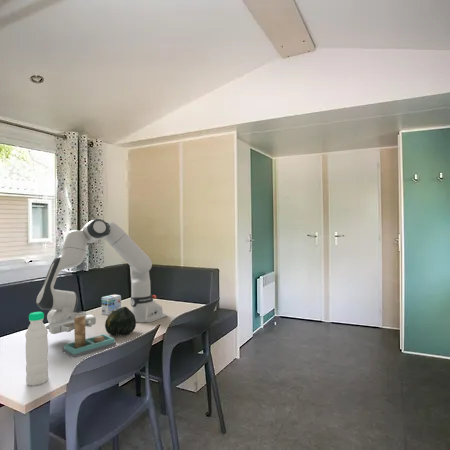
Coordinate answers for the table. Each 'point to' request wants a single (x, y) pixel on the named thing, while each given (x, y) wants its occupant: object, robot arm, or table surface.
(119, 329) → the squash
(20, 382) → the table surface
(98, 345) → the housing plate
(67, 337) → the table surface
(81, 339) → the oak post
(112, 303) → the light bulb box
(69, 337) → the table surface
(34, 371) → the water bottle
